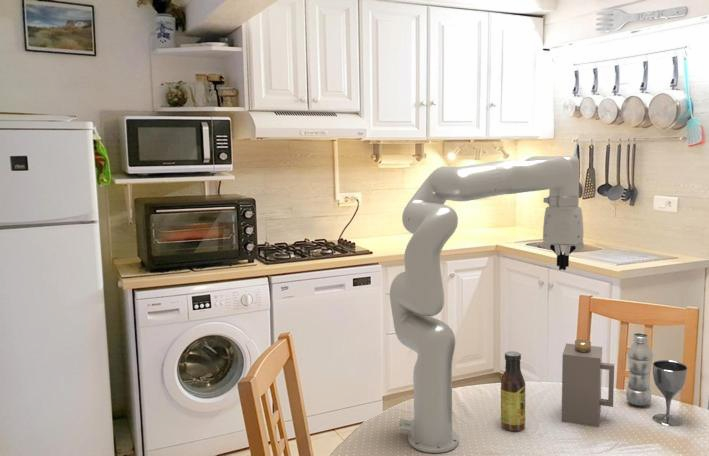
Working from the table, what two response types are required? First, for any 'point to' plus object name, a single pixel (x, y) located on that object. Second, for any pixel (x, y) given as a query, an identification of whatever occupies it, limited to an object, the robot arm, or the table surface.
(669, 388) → the wine glass
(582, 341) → the plunger
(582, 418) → the press pot
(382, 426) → the table surface
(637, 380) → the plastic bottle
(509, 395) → the sauce bottle
